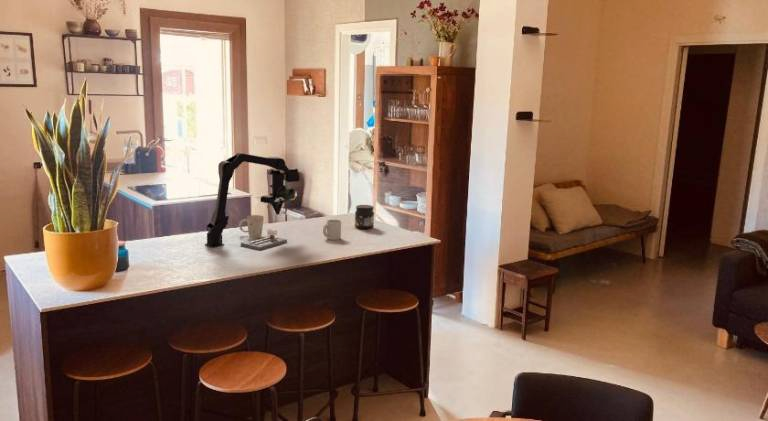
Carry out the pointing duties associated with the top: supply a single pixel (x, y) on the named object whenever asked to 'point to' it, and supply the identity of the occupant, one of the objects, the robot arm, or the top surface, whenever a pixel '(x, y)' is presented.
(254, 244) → the console board
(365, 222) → the supplement container
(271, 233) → the fader tab
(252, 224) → the mug
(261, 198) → the robot arm
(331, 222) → the cup
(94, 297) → the top surface
